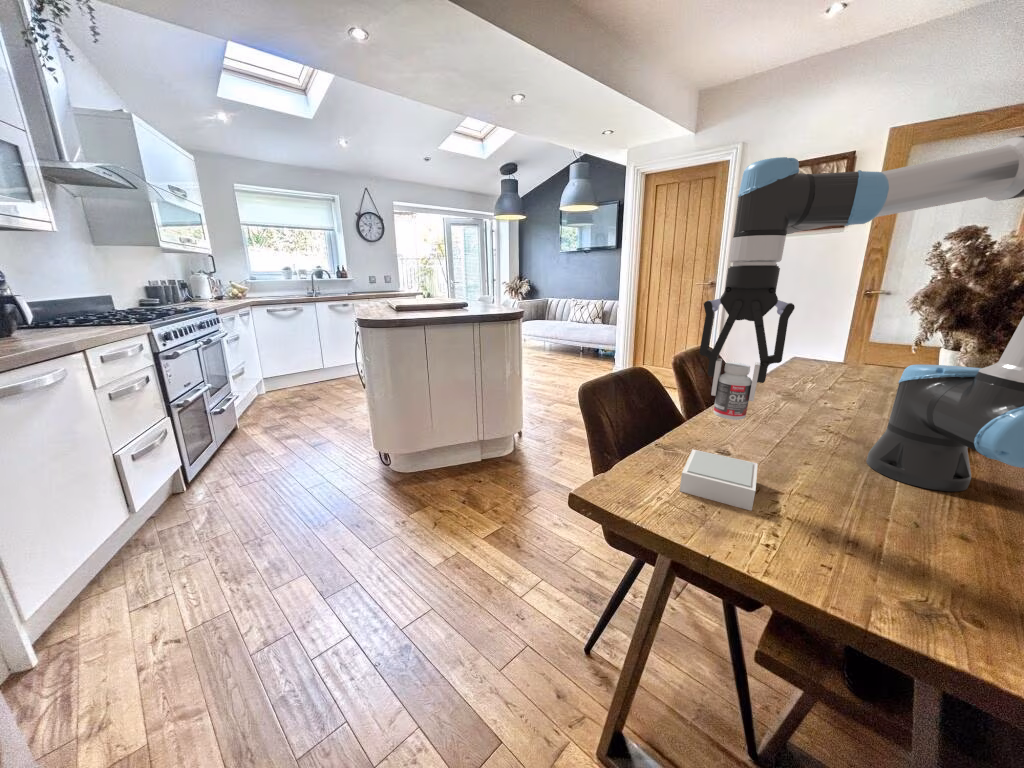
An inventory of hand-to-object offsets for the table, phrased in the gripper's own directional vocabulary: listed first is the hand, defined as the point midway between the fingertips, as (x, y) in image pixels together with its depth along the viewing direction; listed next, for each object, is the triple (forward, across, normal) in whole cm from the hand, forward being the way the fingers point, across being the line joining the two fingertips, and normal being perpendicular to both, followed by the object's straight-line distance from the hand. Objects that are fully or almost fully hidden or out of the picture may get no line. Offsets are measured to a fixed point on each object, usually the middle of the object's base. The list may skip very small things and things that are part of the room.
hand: (732, 396), depth 72 cm
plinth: (+19, 0, 0) cm, 19 cm away
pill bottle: (+4, 0, 0) cm, 4 cm away
